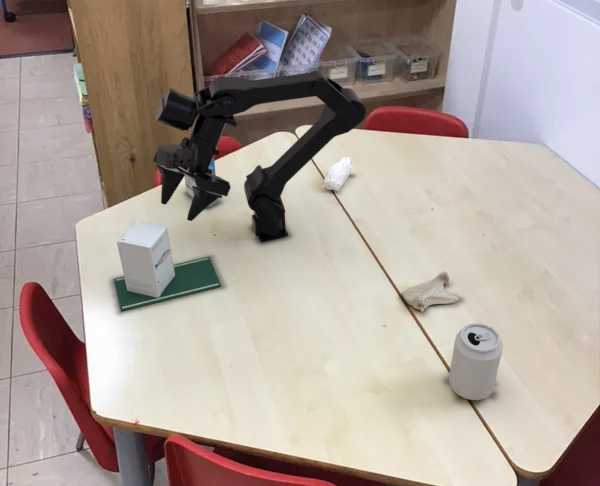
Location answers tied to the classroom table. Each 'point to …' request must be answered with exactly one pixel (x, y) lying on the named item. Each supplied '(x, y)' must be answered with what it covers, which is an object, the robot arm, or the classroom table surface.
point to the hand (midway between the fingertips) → (176, 212)
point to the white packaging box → (146, 258)
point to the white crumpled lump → (338, 174)
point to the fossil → (430, 293)
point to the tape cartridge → (191, 182)
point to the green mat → (173, 284)
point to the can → (475, 361)
